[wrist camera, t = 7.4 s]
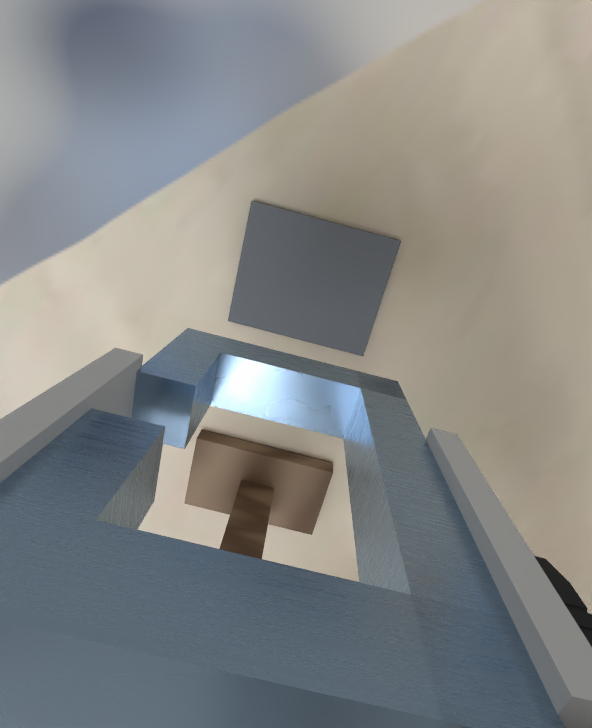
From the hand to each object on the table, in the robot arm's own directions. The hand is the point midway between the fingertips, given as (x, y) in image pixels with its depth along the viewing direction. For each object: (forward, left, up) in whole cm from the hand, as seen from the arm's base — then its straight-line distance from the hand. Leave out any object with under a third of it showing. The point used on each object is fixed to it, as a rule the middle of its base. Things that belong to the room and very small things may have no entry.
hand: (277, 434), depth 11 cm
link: (0, 0, -4) cm, 4 cm away
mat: (0, -1, -21) cm, 21 cm away
